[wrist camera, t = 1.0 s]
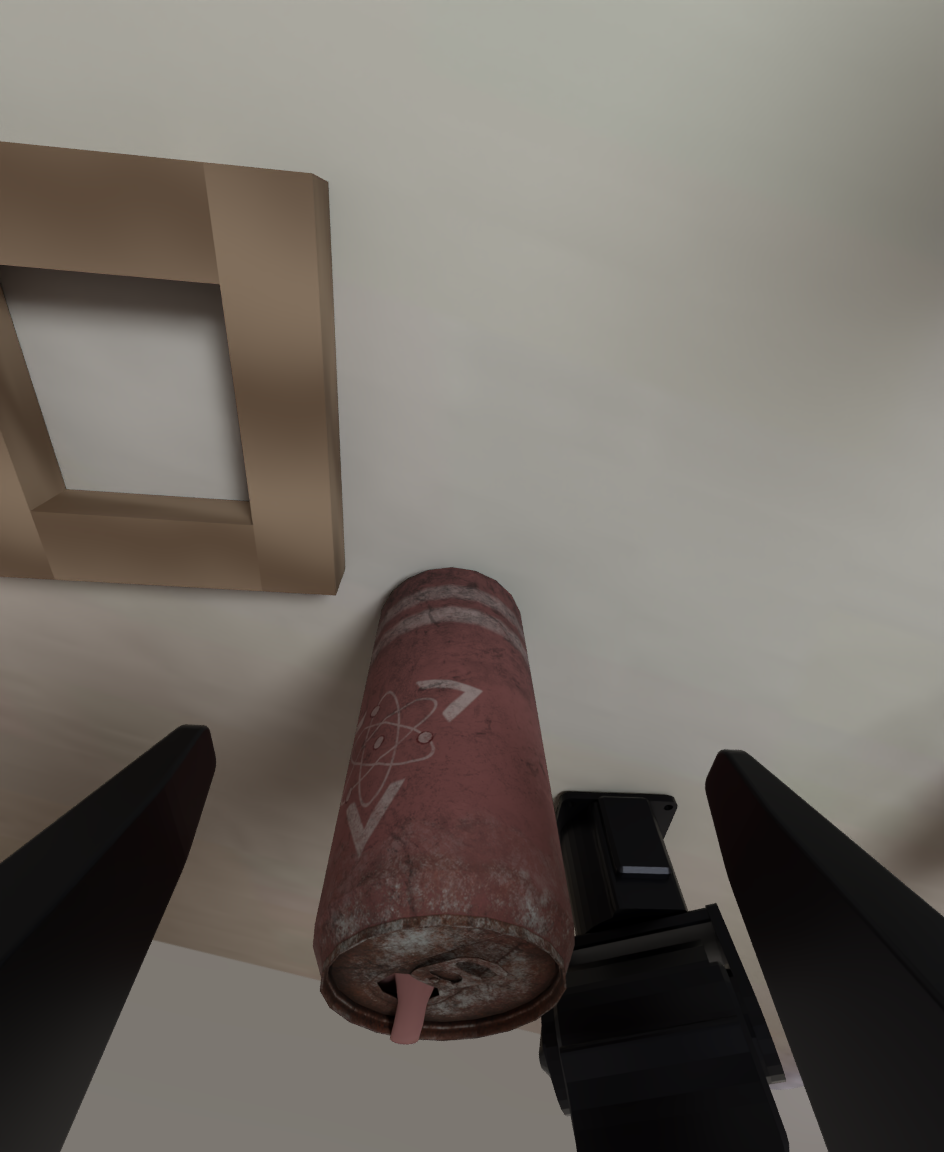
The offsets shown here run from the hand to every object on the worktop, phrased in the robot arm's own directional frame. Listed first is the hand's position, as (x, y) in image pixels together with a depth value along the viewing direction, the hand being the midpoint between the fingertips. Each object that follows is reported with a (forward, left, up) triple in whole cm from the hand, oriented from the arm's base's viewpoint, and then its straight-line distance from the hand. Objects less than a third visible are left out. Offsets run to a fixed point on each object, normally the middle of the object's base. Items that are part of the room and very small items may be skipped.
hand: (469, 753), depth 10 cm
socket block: (+3, +11, -13) cm, 17 cm away
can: (-6, 0, -13) cm, 15 cm away
